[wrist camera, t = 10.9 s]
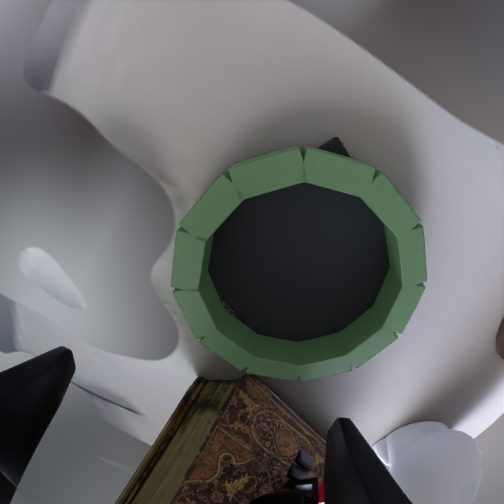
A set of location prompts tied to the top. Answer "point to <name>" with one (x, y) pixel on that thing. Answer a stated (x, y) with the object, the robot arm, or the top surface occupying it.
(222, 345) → the ring
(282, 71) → the top surface
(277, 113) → the top surface
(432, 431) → the figurine
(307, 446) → the book
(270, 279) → the mat
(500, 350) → the ring stand
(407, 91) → the top surface
